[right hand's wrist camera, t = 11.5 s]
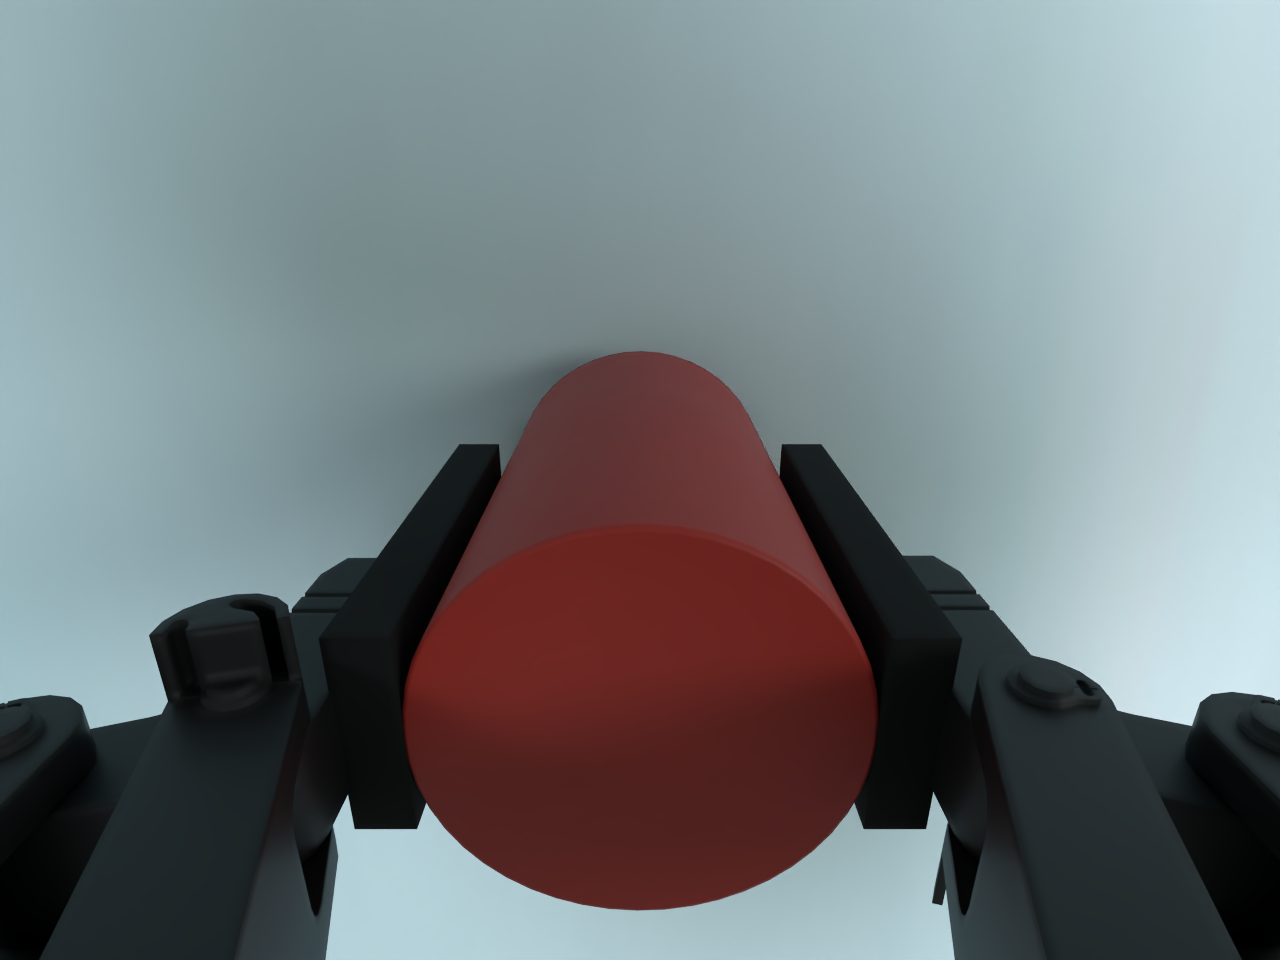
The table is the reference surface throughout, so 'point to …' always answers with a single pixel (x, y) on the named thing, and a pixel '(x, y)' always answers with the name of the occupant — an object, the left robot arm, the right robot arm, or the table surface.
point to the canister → (640, 656)
